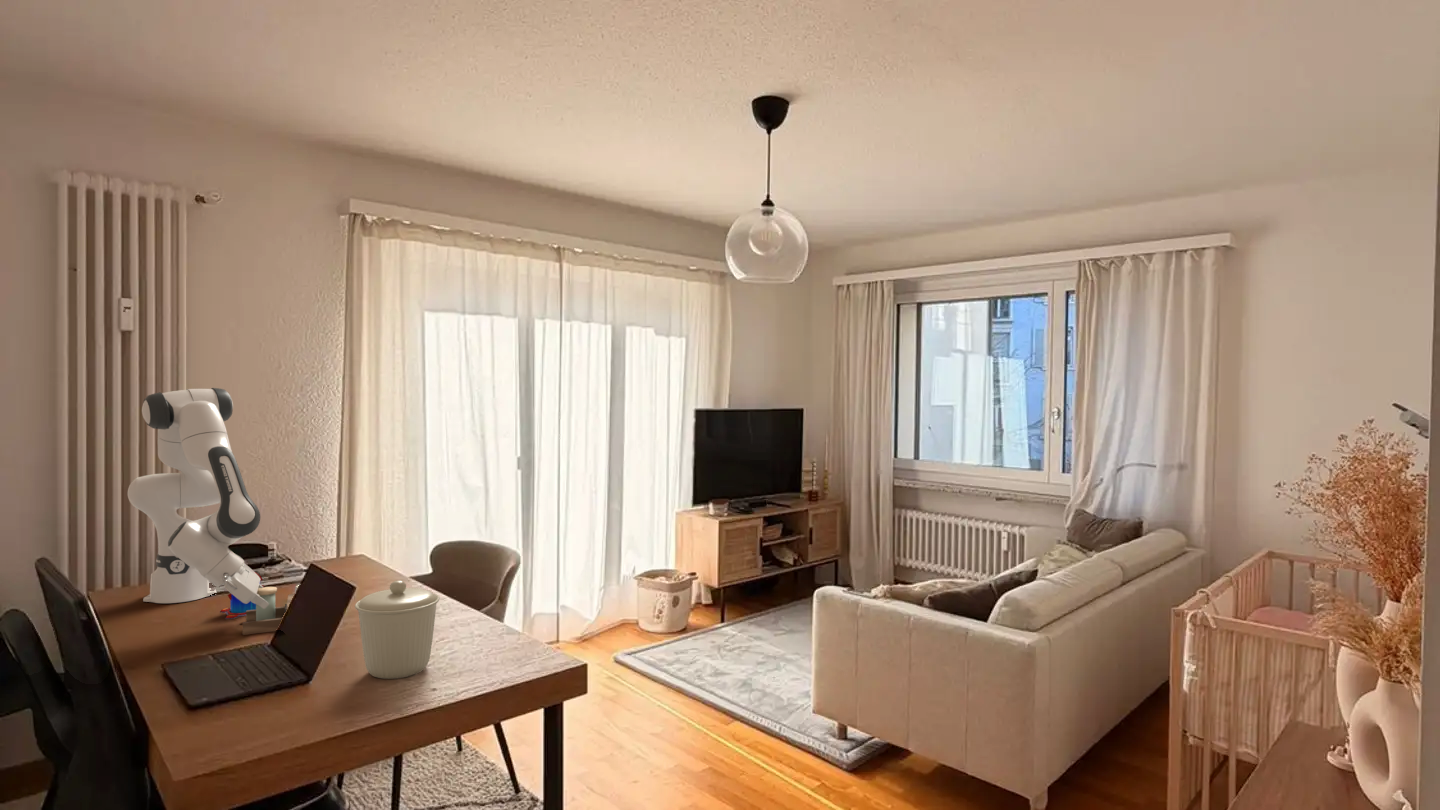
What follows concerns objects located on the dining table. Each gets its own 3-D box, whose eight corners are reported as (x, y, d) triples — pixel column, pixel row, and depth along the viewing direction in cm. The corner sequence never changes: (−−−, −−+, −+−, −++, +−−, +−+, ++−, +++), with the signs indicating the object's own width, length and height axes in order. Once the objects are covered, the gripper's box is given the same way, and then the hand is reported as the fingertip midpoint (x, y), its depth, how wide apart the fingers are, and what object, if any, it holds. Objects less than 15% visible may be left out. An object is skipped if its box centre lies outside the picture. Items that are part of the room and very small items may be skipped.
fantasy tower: (225, 620, 219) (225, 577, 219) (218, 611, 228) (218, 570, 228) (272, 612, 227) (272, 571, 227) (264, 604, 236) (263, 564, 236)
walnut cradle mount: (246, 620, 219) (246, 598, 219) (294, 614, 225) (294, 594, 224) (242, 636, 205) (242, 613, 205) (293, 629, 210) (293, 607, 210)
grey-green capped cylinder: (255, 624, 216) (254, 588, 215) (277, 621, 218) (277, 586, 218) (253, 629, 211) (253, 592, 211) (276, 626, 213) (276, 590, 213)
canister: (387, 692, 167) (387, 594, 167) (338, 675, 177) (338, 583, 177) (456, 667, 183) (456, 578, 182) (407, 653, 192) (407, 568, 192)
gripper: (232, 569, 202) (275, 602, 206) (238, 554, 220) (278, 584, 224) (211, 588, 200) (256, 621, 204) (220, 571, 218) (260, 602, 222)
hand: (268, 601), depth 215 cm, fingers open, 8 cm apart
